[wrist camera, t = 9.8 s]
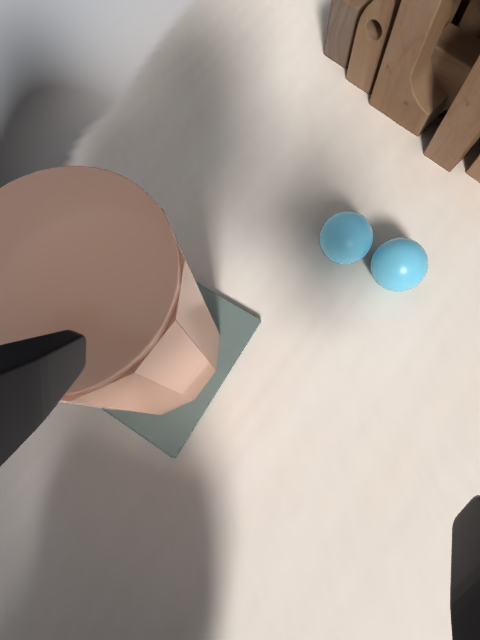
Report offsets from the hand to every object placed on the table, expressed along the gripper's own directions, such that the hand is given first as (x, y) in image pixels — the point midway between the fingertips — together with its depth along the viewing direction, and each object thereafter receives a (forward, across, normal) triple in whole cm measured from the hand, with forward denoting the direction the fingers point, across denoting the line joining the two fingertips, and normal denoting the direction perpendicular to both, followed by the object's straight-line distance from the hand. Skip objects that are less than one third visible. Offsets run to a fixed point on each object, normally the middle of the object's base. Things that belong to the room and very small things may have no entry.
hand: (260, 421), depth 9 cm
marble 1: (+18, -1, +1) cm, 18 cm away
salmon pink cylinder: (+11, +8, +8) cm, 15 cm away
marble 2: (+18, -4, +2) cm, 18 cm away
